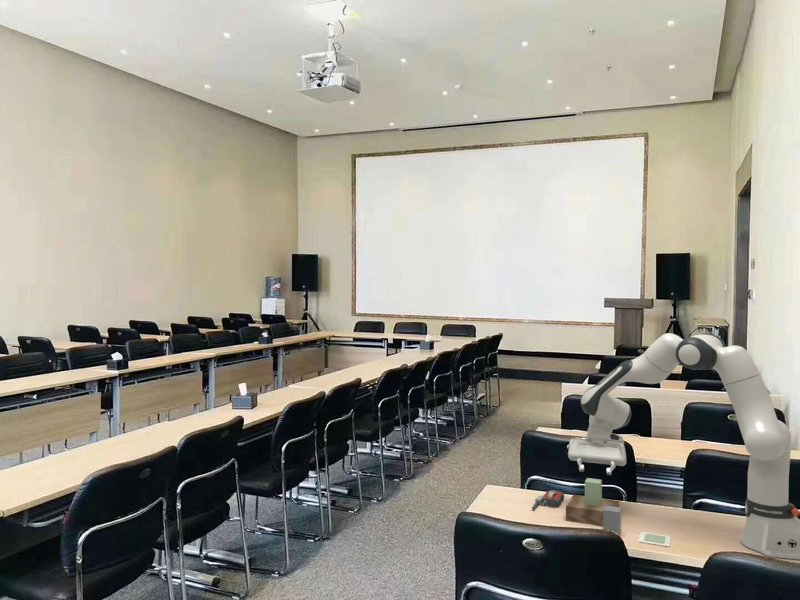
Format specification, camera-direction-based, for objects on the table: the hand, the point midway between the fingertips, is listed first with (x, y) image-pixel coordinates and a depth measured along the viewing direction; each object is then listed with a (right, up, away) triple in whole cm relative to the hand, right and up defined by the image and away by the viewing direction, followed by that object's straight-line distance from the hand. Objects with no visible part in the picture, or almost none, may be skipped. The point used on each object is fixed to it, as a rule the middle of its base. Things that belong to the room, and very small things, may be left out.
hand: (594, 472), depth 225 cm
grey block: (0, -15, -18) cm, 23 cm away
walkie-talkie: (-14, -15, +11) cm, 24 cm away
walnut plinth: (-2, -15, -3) cm, 15 cm away
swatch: (+12, -15, -23) cm, 30 cm away
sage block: (-2, -10, -4) cm, 11 cm away
